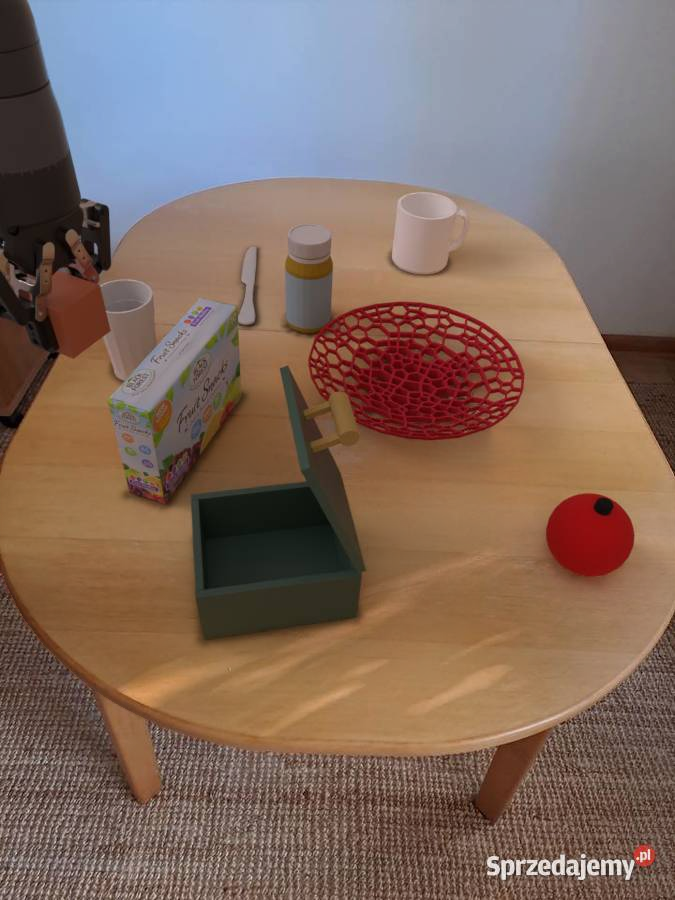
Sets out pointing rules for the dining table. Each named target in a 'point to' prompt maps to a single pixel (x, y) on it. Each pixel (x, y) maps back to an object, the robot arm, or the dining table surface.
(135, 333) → the cup
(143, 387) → the snack box
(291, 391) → the lid
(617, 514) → the ornament
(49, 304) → the block
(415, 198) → the mug
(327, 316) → the bottle
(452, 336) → the bowl
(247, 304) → the butter knife
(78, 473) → the dining table surface
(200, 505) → the chest
